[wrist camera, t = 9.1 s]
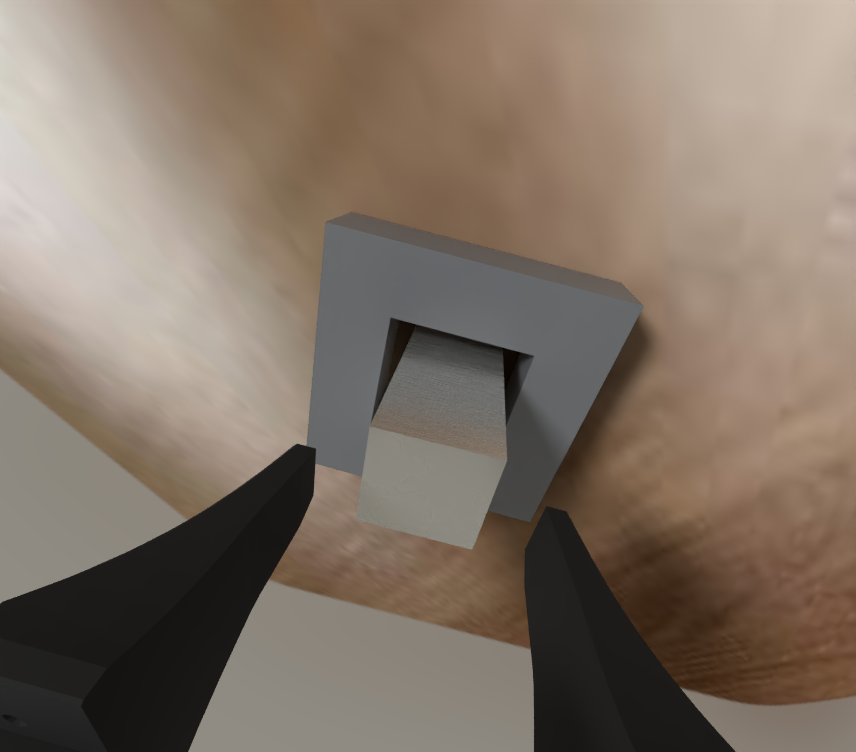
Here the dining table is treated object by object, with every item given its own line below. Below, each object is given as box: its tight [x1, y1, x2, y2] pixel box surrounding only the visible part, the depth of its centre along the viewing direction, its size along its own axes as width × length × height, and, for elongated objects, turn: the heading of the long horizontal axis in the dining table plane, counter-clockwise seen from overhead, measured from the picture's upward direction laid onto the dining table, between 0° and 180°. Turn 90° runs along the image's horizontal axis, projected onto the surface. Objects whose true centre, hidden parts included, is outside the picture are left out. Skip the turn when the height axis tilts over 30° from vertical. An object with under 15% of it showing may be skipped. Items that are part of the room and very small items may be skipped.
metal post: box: [356, 325, 507, 550], centre depth 16 cm, size 4×4×9 cm
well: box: [307, 212, 644, 522], centre depth 19 cm, size 12×12×3 cm
